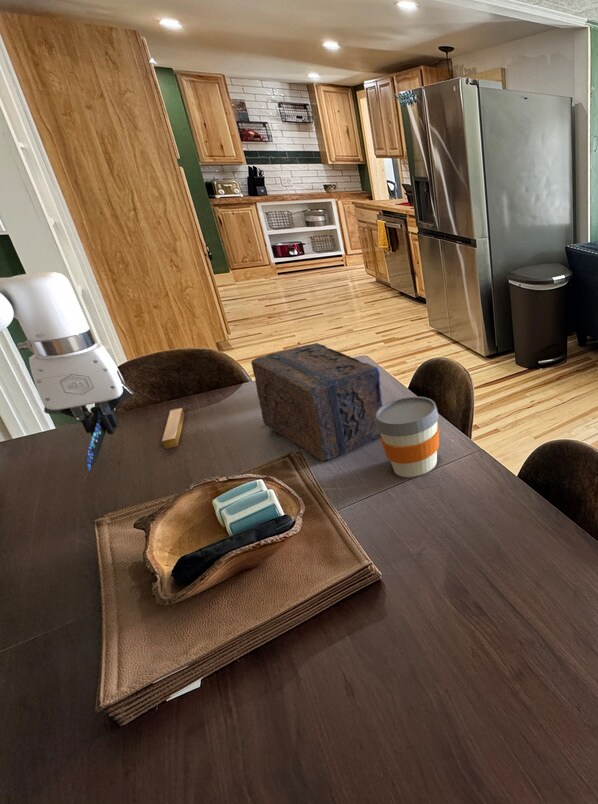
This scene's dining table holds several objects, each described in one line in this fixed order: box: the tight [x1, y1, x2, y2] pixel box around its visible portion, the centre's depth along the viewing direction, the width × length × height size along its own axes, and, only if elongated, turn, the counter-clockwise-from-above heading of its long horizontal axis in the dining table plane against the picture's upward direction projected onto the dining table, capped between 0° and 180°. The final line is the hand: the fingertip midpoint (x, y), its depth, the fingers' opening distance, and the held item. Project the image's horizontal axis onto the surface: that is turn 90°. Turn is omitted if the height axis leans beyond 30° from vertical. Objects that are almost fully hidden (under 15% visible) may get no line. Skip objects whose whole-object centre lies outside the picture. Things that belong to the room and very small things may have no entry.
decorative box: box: [250, 342, 383, 462], centre depth 117 cm, size 31×20×20 cm
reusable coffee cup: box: [376, 396, 440, 478], centre depth 104 cm, size 13×13×15 cm
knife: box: [86, 405, 120, 471], centre depth 90 cm, size 31×3×4 cm, turn 33°
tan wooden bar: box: [161, 407, 185, 450], centre depth 119 cm, size 2×18×2 cm, turn 35°
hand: (104, 432), depth 90 cm, fingers closed on knife, 1 cm apart
